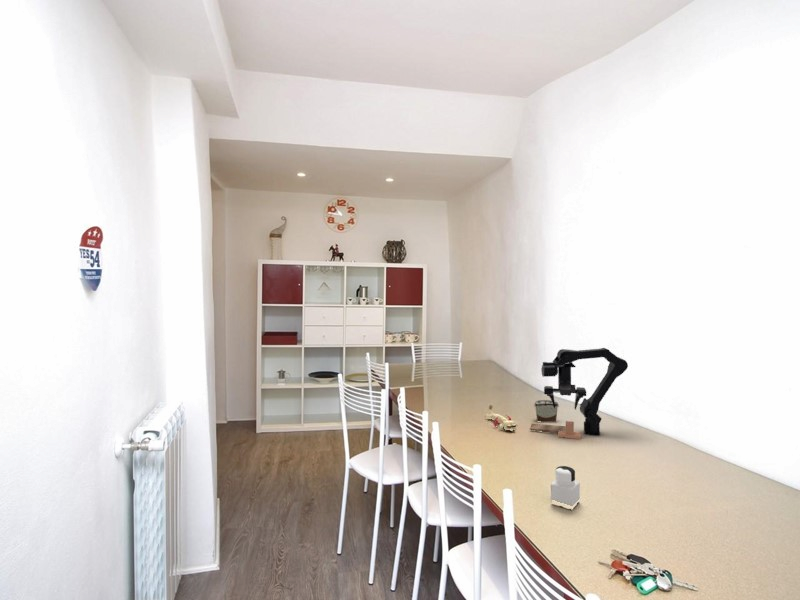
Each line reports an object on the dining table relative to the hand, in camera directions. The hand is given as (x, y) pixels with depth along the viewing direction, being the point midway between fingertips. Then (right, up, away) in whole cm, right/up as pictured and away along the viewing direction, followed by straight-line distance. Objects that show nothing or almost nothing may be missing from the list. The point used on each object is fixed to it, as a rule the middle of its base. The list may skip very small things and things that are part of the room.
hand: (564, 408), depth 225 cm
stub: (+1, -12, -5) cm, 13 cm away
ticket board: (-7, -12, +5) cm, 14 cm away
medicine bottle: (-23, -16, -68) cm, 73 cm away
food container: (-3, -11, +20) cm, 23 cm away
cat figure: (-27, -12, +14) cm, 33 cm away
